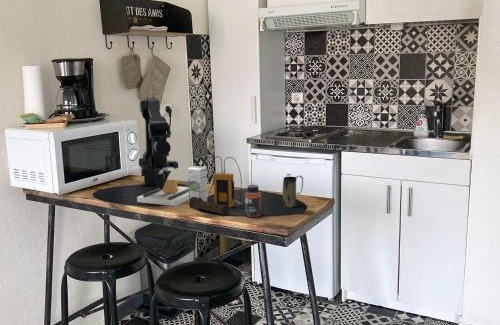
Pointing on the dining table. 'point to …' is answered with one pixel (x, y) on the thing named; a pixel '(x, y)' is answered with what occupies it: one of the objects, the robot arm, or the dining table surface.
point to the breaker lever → (170, 186)
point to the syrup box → (197, 182)
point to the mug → (290, 191)
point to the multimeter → (224, 187)
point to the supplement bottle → (253, 201)
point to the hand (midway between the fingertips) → (161, 188)
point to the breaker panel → (165, 197)
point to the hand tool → (208, 206)
